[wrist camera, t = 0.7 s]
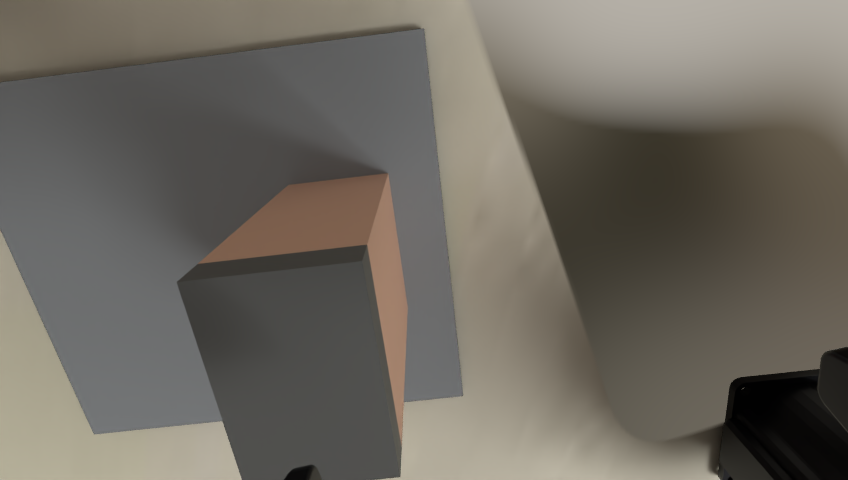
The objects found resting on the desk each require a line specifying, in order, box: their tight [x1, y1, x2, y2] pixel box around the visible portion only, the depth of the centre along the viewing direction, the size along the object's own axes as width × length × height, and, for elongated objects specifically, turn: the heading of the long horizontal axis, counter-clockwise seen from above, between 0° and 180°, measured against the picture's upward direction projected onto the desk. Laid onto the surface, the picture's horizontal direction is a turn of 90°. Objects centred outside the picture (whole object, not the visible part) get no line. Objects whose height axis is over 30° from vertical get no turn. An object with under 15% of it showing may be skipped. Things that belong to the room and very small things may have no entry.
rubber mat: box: [0, 29, 463, 434], centre depth 20 cm, size 18×16×1 cm
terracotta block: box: [177, 173, 408, 480], centre depth 15 cm, size 4×6×9 cm, turn 7°
